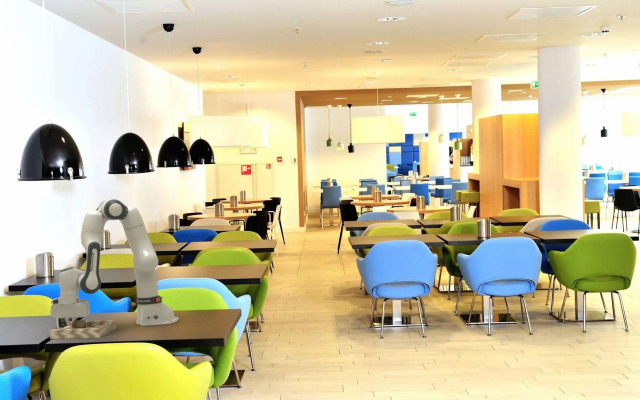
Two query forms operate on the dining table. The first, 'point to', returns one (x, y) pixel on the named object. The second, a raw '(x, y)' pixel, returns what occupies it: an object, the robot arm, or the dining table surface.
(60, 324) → the medicine bottle
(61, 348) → the dining table surface
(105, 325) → the woven tray
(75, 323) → the walnut block
